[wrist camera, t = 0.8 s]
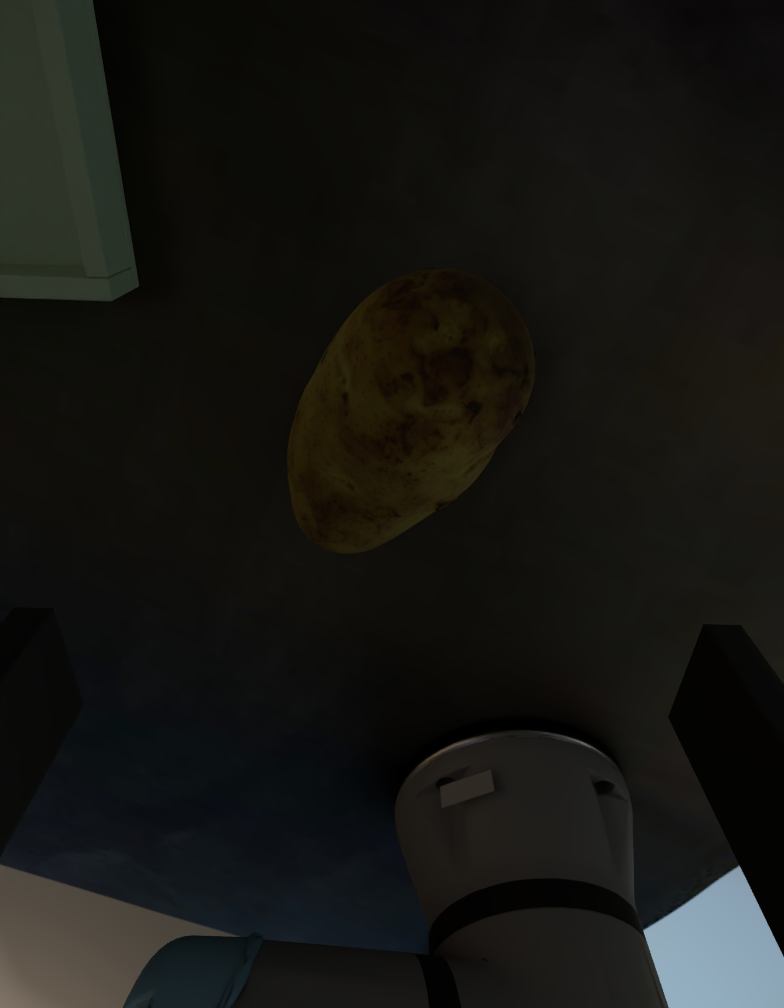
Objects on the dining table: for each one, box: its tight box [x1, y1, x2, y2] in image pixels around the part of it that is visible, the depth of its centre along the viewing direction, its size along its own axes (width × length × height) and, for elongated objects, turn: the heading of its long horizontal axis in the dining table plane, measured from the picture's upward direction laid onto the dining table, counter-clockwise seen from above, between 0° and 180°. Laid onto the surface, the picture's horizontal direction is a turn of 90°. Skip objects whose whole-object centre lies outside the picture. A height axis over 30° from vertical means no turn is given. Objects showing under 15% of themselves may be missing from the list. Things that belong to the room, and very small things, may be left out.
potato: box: [287, 267, 536, 554], centre depth 24 cm, size 8×13×8 cm, turn 132°
